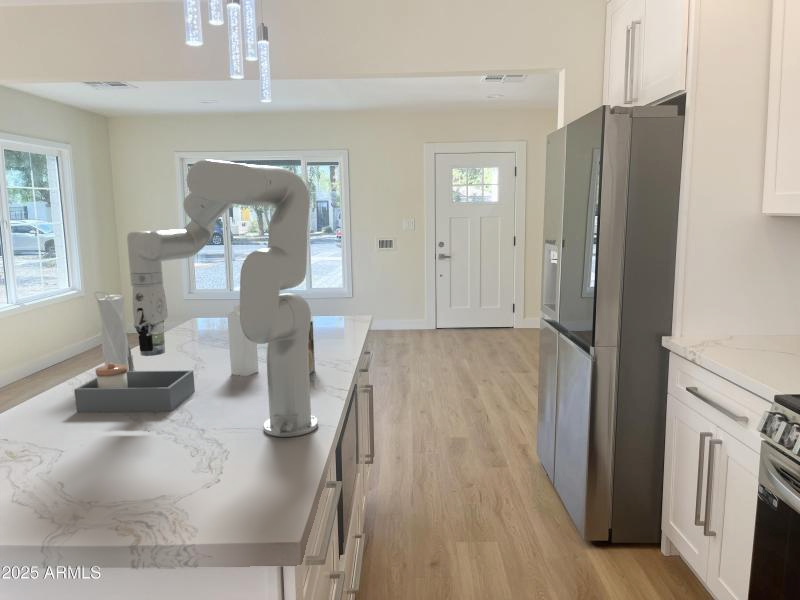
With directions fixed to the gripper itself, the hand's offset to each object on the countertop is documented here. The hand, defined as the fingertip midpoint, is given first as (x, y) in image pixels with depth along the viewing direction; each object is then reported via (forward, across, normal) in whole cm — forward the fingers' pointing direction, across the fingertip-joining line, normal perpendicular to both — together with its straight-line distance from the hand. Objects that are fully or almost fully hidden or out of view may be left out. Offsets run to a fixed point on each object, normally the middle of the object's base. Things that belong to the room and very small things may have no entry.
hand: (152, 347), depth 149 cm
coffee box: (+16, +27, -33) cm, 46 cm away
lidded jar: (+15, 0, +11) cm, 19 cm away
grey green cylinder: (+2, 0, 0) cm, 2 cm away
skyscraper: (+16, +21, +21) cm, 34 cm away
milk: (+16, +29, -15) cm, 36 cm away
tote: (+16, 0, +5) cm, 16 cm away
